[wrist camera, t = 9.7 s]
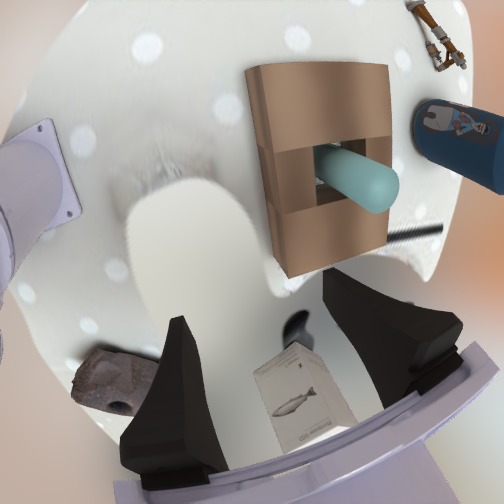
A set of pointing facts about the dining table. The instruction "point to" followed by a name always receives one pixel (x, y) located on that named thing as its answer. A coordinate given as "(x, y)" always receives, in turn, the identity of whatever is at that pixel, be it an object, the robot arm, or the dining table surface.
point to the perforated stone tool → (113, 382)
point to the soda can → (463, 141)
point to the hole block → (302, 162)
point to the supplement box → (302, 398)
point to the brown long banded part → (441, 35)
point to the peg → (356, 177)
